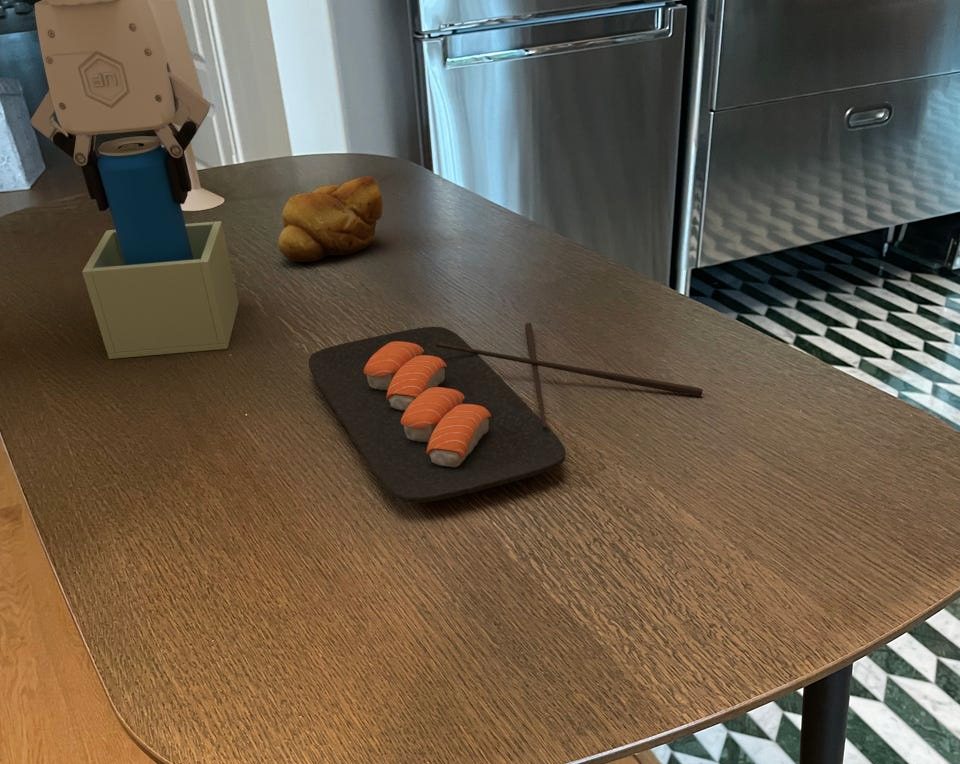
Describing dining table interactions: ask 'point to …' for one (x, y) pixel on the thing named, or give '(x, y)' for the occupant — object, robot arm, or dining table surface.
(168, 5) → the champagne flute
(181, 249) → the beverage can
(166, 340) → the trash bin
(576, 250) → the dining table surface
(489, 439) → the sushi plate
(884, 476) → the dining table surface
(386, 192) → the dining table surface
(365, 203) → the bread roll
